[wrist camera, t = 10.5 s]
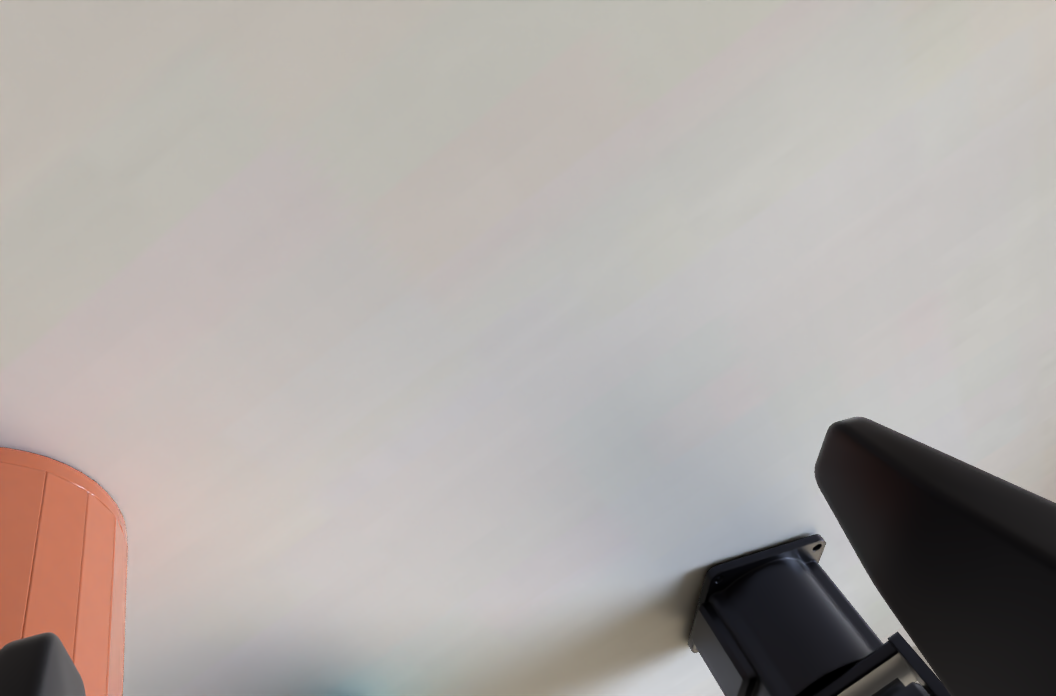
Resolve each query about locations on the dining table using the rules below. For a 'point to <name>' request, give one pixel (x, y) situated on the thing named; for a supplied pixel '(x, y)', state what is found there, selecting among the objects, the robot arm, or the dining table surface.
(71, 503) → the terracotta cup
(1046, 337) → the dining table surface
